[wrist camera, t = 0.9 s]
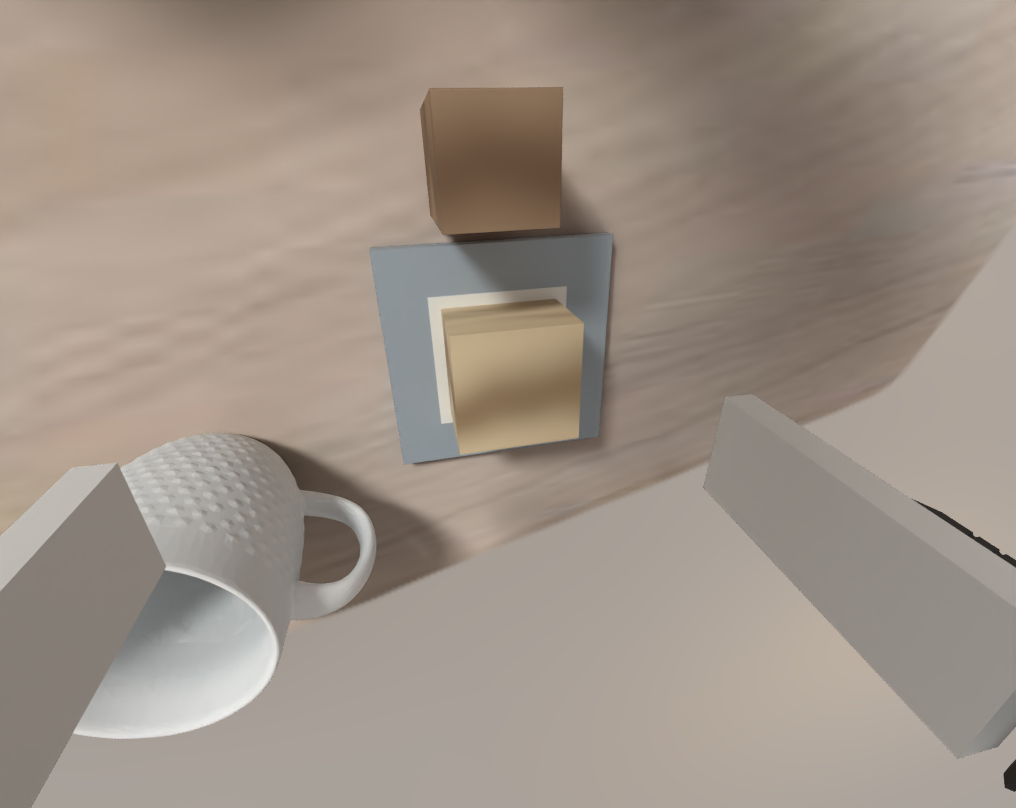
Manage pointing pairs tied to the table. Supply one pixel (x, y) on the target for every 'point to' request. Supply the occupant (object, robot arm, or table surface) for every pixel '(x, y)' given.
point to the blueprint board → (471, 282)
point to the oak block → (513, 373)
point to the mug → (217, 584)
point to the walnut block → (493, 158)
